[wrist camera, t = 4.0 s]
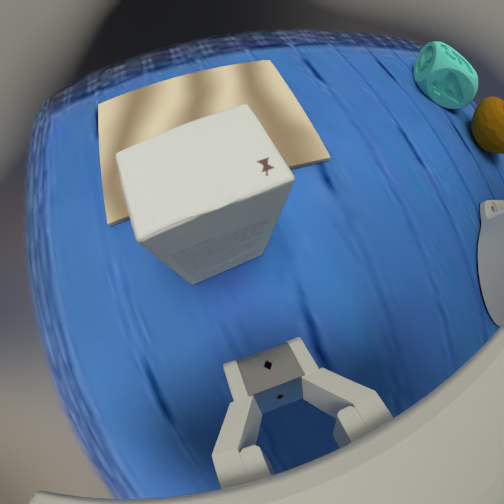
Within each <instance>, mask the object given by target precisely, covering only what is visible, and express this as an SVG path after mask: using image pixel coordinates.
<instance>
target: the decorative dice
mask: <svg viewBox="0 0 504 504" xmlns="http://www.w3.org/2000/svg"><path fill="white" fill-rule="evenodd" d="M414 79H415V82H416V84H417V85H418V87H419V88H420V89H421V90H422V92H423V93H424V94H425V95H426V96H427V97H429V98H430V99H431V100H432V101H433V102H435V103H436V104H438V105H440V106H441V107H444V108H448V109H459V108H463V107H465V106H467V105H468V104H469V103H470V102H471V101H472V100H473V98H474V96H475V94H476V92H477V89H478V76H477V73H476V72H475V70H474V68H473V67H472V66H471V65H470V63H469V62H468V61H467V60H466V59H465V58H464V57H463V56H462V55H461V54H459V53H458V52H457V51H456V50H454V49H453V48H451V47H450V46H448V45H447V44H445V43H443V42H437V41H436V42H430V43H427V44H426V45H425V46H424V47H423V48H422V50H421V51H420V53H419V55H418V57H417V59H416V62H415V66H414Z"/></svg>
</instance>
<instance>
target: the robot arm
mask: <svg viewBox="0 0 504 504" xmlns="http://www.w3.org/2000/svg"><path fill="white" fill-rule="evenodd" d="M480 214H481V231H480V235H479V242H478V270H479V278H480V284H481V290H482V294H483V298H484V301H485V304H486V307H487V310H488V312H489V314H490V316H491V318H492V319H493V321H494V322H495V323H496V324H497V325H498V326H500V327H499V329H498V330H497V331H496V332H495V333H494V334H493V335H492V336H491V337H490V339H489V340H488V341H487V342H486V343H485V344H484V345H483V346H482V347H481V348H480V349H479V350H478V351H477V352H476V353H475V354H474V355H473V356H472V357H471V358H470V359H469V360H468V361H467V362H465V363H464V364H463V365H462V366H461V367H460V368H459V369H458V370H457V371H455V372H454V373H453V374H452V375H451V376H450V377H449V378H447V379H446V380H445V381H444V382H443V383H441V384H440V385H439V386H438V387H436V388H435V389H434V390H433V391H431V392H430V393H429V394H427V395H426V396H425V397H423V398H422V399H421V400H419V401H418V402H416V403H415V404H414V405H412V406H411V407H409V408H408V409H406V410H405V411H404V412H402V413H401V414H399V415H397V416H396V417H394V418H393V416H392V415H391V413H390V412H389V410H388V409H387V407H386V406H385V404H384V403H383V401H382V400H381V398H380V397H379V395H378V394H377V393H376V391H374V390H372V389H370V388H367V387H365V386H363V385H360V384H358V383H356V382H354V381H351V380H349V379H347V378H345V377H342V376H340V375H338V374H336V373H334V372H332V371H329V370H327V369H325V368H320V369H319V368H318V366H317V364H316V363H315V361H314V359H313V358H312V356H311V354H310V352H309V351H308V349H307V347H306V346H305V344H304V342H303V341H302V339H301V338H300V337H296V338H294V339H292V340H289V341H287V342H283V343H281V344H278V345H276V346H273V347H271V348H268V349H266V350H263V351H261V352H259V353H256V354H253V355H250V356H247V357H244V358H241V359H237V360H234V361H231V362H228V363H225V364H223V367H224V371H225V374H226V378H227V381H228V384H229V388H230V391H231V394H232V397H233V400H234V401H233V402H230V404H229V407H228V410H227V413H226V416H225V419H224V422H223V424H222V427H221V430H220V433H219V436H218V439H217V442H216V444H215V447H214V450H213V453H212V459H213V462H214V466H215V470H216V473H217V476H218V480H219V483H220V486H221V489H218V490H213V491H207V492H202V493H196V494H189V495H181V496H172V497H161V498H145V499H106V498H90V497H79V496H71V495H64V494H57V493H52V492H47V491H37V492H36V493H35V494H34V495H33V496H32V498H31V500H30V501H29V503H28V504H504V200H486V201H483V202H481V204H480ZM300 399H304V400H306V401H307V402H309V403H310V404H312V405H314V406H315V407H317V408H319V409H320V410H322V411H324V412H325V413H327V414H329V415H330V416H332V417H334V418H336V423H335V427H334V431H333V437H334V438H335V440H336V442H337V444H338V446H339V449H337V450H335V451H333V452H331V453H328V454H326V455H324V456H322V457H319V458H317V459H315V460H312V461H310V462H307V463H305V464H302V465H300V466H297V467H295V468H292V469H289V470H286V471H284V472H281V473H278V474H275V472H274V470H273V467H272V465H271V463H270V460H269V459H268V458H267V456H266V455H265V454H264V452H263V451H262V450H261V448H260V447H259V446H256V442H257V437H258V433H259V428H260V424H261V419H262V414H263V413H266V412H269V411H271V410H274V409H276V408H279V407H281V406H284V405H287V404H289V403H292V402H295V401H297V400H300Z"/></svg>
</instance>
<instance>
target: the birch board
mask: <svg viewBox="0 0 504 504" xmlns="http://www.w3.org/2000/svg"><path fill="white" fill-rule="evenodd" d="M243 104H247V105H248V106H249V107H250V109H251V110H252V111H253V113H254V114H255V116H256V117H257V119H258V120H259V122H260V123H261V125H262V126H263V128H264V129H265V131H266V133H267V134H268V136H269V137H270V139H271V140H272V142H273V143H274V145H275V146H276V148H277V149H278V151H279V153H280V154H281V156H282V157H283V159H284V160H285V162H286V163H287V165H288V167H289V168H290V170H291V169H295V168H299V167H303V166H308V165H312V164H316V163H321V162H326V161H329V159H330V158H331V157H330V155H329V153H328V152H327V150H326V148H325V146H324V144H323V143H322V141H321V139H320V137H319V135H318V134H317V132H316V130H315V129H314V127H313V125H312V124H311V122H310V120H309V119H308V117H307V115H306V114H305V112H304V110H303V109H302V107H301V106H300V104H299V102H298V101H297V99H296V98H295V96H294V95H293V93H292V92H291V90H290V89H289V87H288V86H287V84H286V83H285V81H284V80H283V78H282V77H281V75H280V74H279V72H278V71H277V70H276V68H275V67H274V65H273V64H272V63H271V61H270V60H263V61H255V62H247V63H241V64H234V65H228V66H223V67H218V68H213V69H208V70H203V71H199V72H195V73H190V74H186V75H182V76H179V77H175V78H171V79H168V80H164V81H161V82H158V83H155V84H151V85H148V86H145V87H142V88H139V89H137V90H134V91H131V92H128V93H126V94H123V95H120V96H118V97H115V98H113V99H110V100H108V101H105V102H103V103H101V104H98V123H99V149H100V164H101V176H102V186H103V194H104V202H105V210H106V216H107V223H108V225H109V226H113V225H115V224H118V223H120V222H123V221H126V220H128V219H130V217H129V213H128V210H127V206H126V202H125V198H124V194H123V190H122V186H121V181H120V177H119V172H118V168H117V163H116V158H115V154H116V153H117V152H120V151H122V150H124V149H126V148H128V147H131V146H133V145H135V144H137V143H139V142H142V141H144V140H146V139H148V138H151V137H153V136H155V135H158V134H160V133H163V132H165V131H167V130H170V129H172V128H175V127H178V126H180V125H183V124H186V123H188V122H191V121H194V120H197V119H200V118H202V117H205V116H208V115H211V114H214V113H217V112H221V111H224V110H227V109H230V108H233V107H236V106H240V105H243Z"/></svg>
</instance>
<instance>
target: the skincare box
mask: <svg viewBox="0 0 504 504" xmlns="http://www.w3.org/2000/svg"><path fill="white" fill-rule="evenodd" d="M115 158H116V163H117V168H118V172H119V177H120V181H121V186H122V190H123V194H124V198H125V202H126V206H127V210H128V213H129V217H130V220H131V224H132V227H133V231H134V234H135V238H136V240H137V242H138V243H139V244H141V245H142V246H143V247H145V248H146V249H147V250H149V251H150V252H151V253H152V254H154V255H155V256H156V257H157V258H159V259H160V260H161V261H162V262H164V263H165V264H166V265H167V266H169V267H170V268H171V269H172V270H174V271H175V272H176V273H177V274H179V275H180V276H181V277H182V278H184V279H185V280H186V281H187V282H189V283H190V284H192V285H193V284H196V283H198V282H200V281H203V280H205V279H207V278H210V277H212V276H214V275H217V274H219V273H221V272H224V271H226V270H228V269H230V268H233V267H235V266H237V265H240V264H242V263H244V262H246V261H249V260H251V259H253V258H255V257H258V256H260V255H262V254H263V252H264V250H265V248H266V246H267V243H268V241H269V239H270V236H271V234H272V232H273V230H274V227H275V225H276V223H277V220H278V218H279V216H280V213H281V211H282V209H283V206H284V204H285V202H286V199H287V197H288V195H289V192H290V190H291V188H292V185H293V183H294V181H295V176H294V175H293V173H292V171H291V170H290V168H289V167H288V165H287V163H286V162H285V160H284V159H283V157H282V156H281V154H280V153H279V151H278V149H277V148H276V146H275V145H274V143H273V142H272V140H271V139H270V137H269V136H268V134H267V133H266V131H265V129H264V128H263V126H262V125H261V123H260V122H259V120H258V119H257V117H256V116H255V114H254V113H253V111H252V110H251V109H250V107H249V106H248V105H247V104H243V105H240V106H236V107H233V108H230V109H227V110H224V111H221V112H217V113H214V114H211V115H208V116H205V117H202V118H200V119H197V120H194V121H191V122H188V123H186V124H183V125H180V126H178V127H175V128H172V129H170V130H167V131H165V132H163V133H160V134H158V135H155V136H153V137H151V138H148V139H146V140H144V141H142V142H139V143H137V144H135V145H133V146H131V147H128V148H126V149H124V150H122V151H120V152H117V153H116V154H115Z"/></svg>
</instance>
